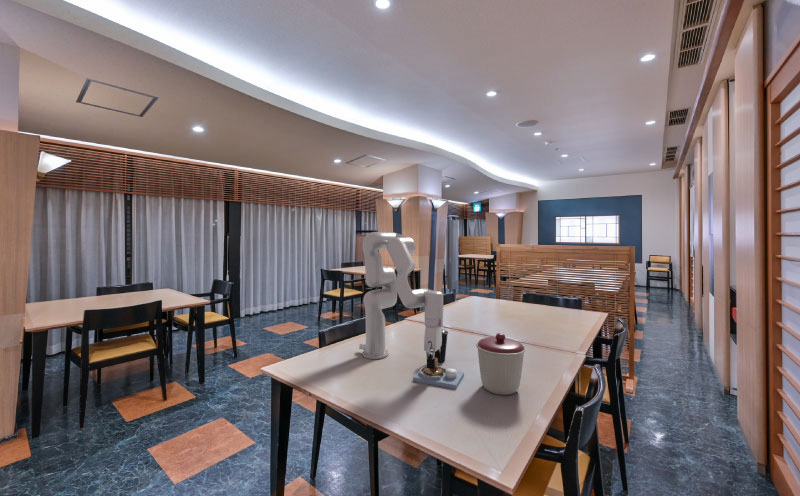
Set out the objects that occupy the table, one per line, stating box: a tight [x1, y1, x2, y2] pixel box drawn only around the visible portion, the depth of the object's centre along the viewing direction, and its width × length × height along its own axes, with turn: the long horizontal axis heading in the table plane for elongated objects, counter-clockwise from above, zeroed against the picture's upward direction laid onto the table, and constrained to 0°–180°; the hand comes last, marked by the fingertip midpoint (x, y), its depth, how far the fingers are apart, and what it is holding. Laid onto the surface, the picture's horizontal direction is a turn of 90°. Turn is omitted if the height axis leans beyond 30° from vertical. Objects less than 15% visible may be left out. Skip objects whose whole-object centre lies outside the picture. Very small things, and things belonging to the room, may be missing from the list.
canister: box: [475, 332, 527, 396], centre depth 123 cm, size 18×18×21 cm
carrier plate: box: [412, 365, 465, 390], centre depth 132 cm, size 18×13×4 cm
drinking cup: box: [438, 328, 449, 364], centre depth 151 cm, size 8×8×20 cm
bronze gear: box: [424, 357, 444, 377], centre depth 133 cm, size 8×8×6 cm
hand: (433, 364), depth 133 cm, fingers open, 7 cm apart
